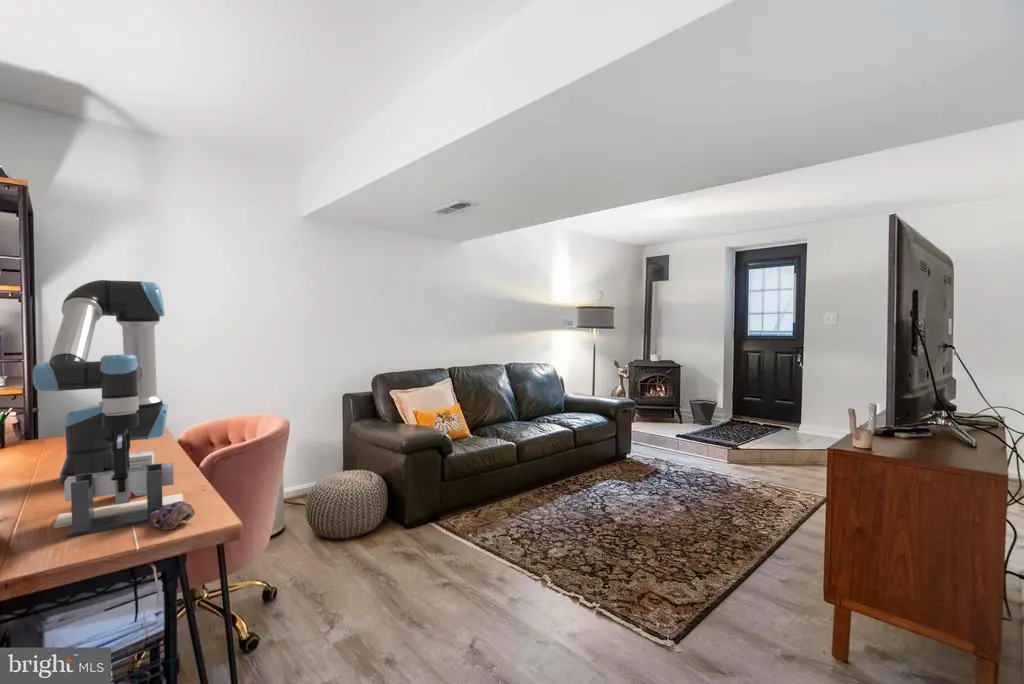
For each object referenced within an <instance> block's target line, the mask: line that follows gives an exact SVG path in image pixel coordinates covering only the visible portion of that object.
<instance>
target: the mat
mask: <svg viewBox="0 0 1024 684" xmlns="http://www.w3.org/2000/svg"><path fill="white" fill-rule="evenodd" d="M178 501H184V497H183V493H178V494H172V495H167V496H163V507H164V506H167V505H170V504H172V503H174V502H178ZM93 508H94V507H93ZM142 510H147V499H142V500H137V501H131V502H130V501H129V503H124V504H118V505H116V504H112V505H107V506H106V505H105V506H100V507H95V508H94V519H97V518H103V517H109V516H114V515H120V514H125V513H131V512H136V511H142ZM71 525H72V511H71V512H66V513H59V514H58V516H57V518H56V520H55V521H54V523H53V529H58V528H64V527H71Z"/></svg>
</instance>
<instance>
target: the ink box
mask: <svg viewBox="0 0 1024 684" xmlns="http://www.w3.org/2000/svg"><path fill="white" fill-rule="evenodd" d="M129 463H130V468H136V467H144V466H148V465H153V464H155V452H154V451H152V450H148V451H142V452H132V453H129ZM140 496H147V489H142V490H136V491H130V497H129V498H135V497H140Z"/></svg>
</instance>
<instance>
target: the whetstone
mask: <svg viewBox="0 0 1024 684" xmlns="http://www.w3.org/2000/svg"><path fill="white" fill-rule="evenodd" d="M146 472H148V469H147V466H144V467H136V468H129V469H127V474H128V482H129V492H130V491H136V490H142V489H147V476H146ZM92 477H93V498H96V497H97V498H98V497H103V496H104V497H105V496H109V495H115V480H113V481H111V478H114V471H107V472H100V473H93V474H92ZM71 482H76V476H71V477H67V479H66V480H65V482H64V483H63V484H64V502H66V503H67V502H71ZM174 483H175V481H174V462H166V463H162V487H167V486H174Z"/></svg>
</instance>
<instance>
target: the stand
mask: <svg viewBox="0 0 1024 684" xmlns="http://www.w3.org/2000/svg"><path fill="white" fill-rule="evenodd" d="M162 464H163V463H162V462H161V463H154V464H153V465H148V466H147V469H148V472H146V476H147V495H146V500H147V510H142V511H136V512H131V513H125V514H120V515H114V516H109V517H103V518H97V519H94V497H93V477H92V473H87V474H80V475H76V482H71V501H70V506H71V512H72V525H70V526H69V529H68V530H67V533H66V538H74V537H77V536H78V537H79V536H83V535H88V534H95V533H98V532H99V533H100V532H103V531H105V532H106V531H110V530H115V529H119V528H125V527H130V526H136V525H140V524H141V525H142V524H146V523H150V522H149V520H150V518H149V514H150V513H152V512H154V511H156V510H161V509H162V508H164V507H166V506H164V507H163V497H164V496H163V486H162Z"/></svg>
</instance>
